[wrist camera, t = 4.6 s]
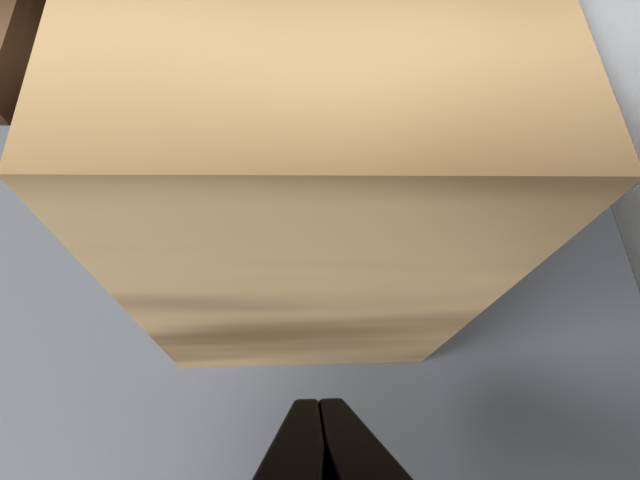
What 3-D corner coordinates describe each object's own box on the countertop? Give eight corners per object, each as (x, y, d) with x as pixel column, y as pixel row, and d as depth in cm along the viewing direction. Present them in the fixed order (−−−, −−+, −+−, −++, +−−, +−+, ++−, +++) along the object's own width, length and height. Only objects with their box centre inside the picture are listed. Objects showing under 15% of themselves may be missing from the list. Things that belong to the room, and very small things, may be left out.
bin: (553, 168, 21) (609, 105, 17) (14, 166, 19) (-48, 95, 16) (498, -22, 26) (533, -101, 23) (68, -37, 24) (32, -126, 21)
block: (421, 361, 15) (645, 177, 6) (180, 368, 14) (-4, 175, 5) (396, 163, 18) (516, -165, 9) (196, 162, 17) (100, -189, 8)
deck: (644, 481, 16) (703, 482, 14) (-81, 516, 14) (-149, 523, 12) (553, 168, 21) (586, 131, 19) (14, 166, 19) (-22, 125, 17)
